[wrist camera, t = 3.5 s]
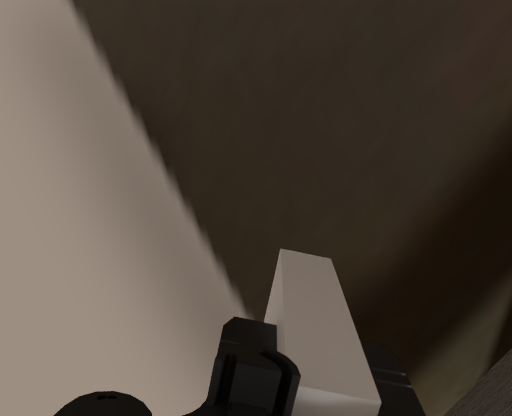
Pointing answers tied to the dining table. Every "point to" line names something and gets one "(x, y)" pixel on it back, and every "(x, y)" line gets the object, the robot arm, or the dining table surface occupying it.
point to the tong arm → (489, 393)
